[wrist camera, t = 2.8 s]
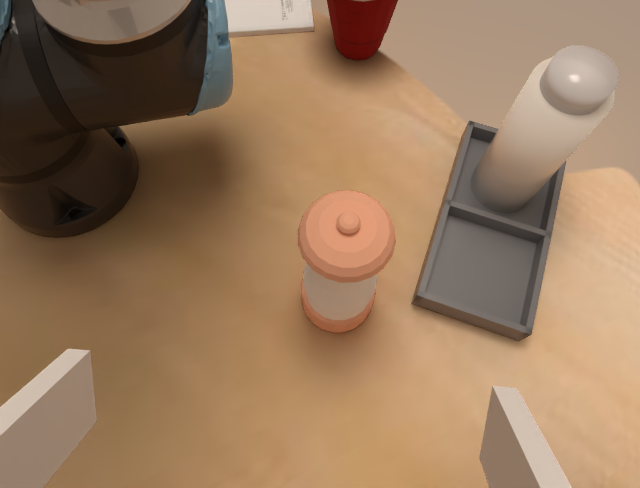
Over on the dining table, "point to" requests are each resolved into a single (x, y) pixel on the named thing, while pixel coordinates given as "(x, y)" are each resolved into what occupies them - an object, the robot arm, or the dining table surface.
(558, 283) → the dining table surface
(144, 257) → the dining table surface
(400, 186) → the dining table surface
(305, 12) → the external hard drive
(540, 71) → the salt shaker
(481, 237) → the shaker caddy
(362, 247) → the pepper shaker
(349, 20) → the plastic cup
